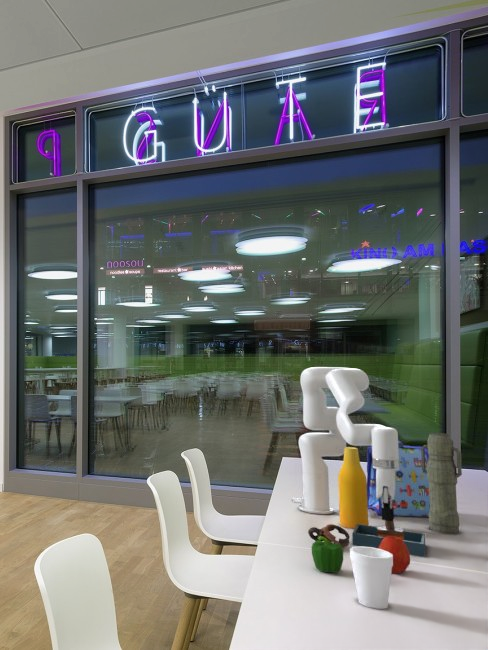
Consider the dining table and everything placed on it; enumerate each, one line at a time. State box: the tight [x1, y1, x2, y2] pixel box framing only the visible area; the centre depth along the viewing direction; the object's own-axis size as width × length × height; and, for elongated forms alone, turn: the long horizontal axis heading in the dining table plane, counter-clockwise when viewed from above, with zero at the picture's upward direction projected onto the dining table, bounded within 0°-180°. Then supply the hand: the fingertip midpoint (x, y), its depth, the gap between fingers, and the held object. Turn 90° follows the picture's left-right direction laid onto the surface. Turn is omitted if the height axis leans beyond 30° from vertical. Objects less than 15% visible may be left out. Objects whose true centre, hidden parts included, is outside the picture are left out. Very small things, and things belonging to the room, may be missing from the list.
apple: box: [378, 535, 411, 574], centre depth 178 cm, size 8×8×11 cm
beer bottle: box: [337, 446, 370, 530], centre depth 225 cm, size 9×9×29 cm
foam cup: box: [349, 546, 393, 610], centre depth 155 cm, size 10×9×13 cm
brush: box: [377, 501, 405, 540], centre depth 202 cm, size 7×5×12 cm
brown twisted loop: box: [307, 523, 350, 549], centre depth 200 cm, size 12×10×8 cm
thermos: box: [421, 432, 463, 535], centre depth 220 cm, size 9×12×35 cm
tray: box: [352, 524, 427, 558], centre depth 202 cm, size 20×14×4 cm
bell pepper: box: [311, 536, 344, 574], centre depth 179 cm, size 8×8×10 cm
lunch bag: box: [366, 440, 430, 518], centre depth 244 cm, size 22×14×29 cm, turn 80°
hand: (388, 518), depth 202 cm, fingers closed on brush, 2 cm apart
